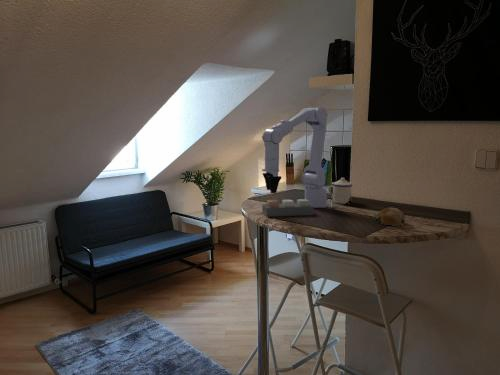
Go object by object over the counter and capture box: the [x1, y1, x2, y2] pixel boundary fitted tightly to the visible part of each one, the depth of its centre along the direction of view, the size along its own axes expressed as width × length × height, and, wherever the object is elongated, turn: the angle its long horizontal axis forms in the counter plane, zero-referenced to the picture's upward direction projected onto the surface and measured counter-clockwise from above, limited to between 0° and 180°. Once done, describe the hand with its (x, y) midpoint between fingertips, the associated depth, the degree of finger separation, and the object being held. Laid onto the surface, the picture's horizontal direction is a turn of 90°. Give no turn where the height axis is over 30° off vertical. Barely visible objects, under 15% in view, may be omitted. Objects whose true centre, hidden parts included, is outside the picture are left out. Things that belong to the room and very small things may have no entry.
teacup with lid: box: [327, 177, 353, 205], centre depth 197 cm, size 12×9×12 cm
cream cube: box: [281, 199, 295, 207], centre depth 172 cm, size 4×4×4 cm
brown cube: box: [266, 199, 279, 207], centre depth 171 cm, size 4×4×4 cm
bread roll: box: [375, 207, 406, 227], centre depth 158 cm, size 10×10×8 cm
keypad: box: [261, 202, 315, 217], centre depth 172 cm, size 20×8×4 cm, turn 100°
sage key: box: [296, 198, 309, 206], centre depth 173 cm, size 4×4×4 cm
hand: (271, 191), depth 171 cm, fingers open, 7 cm apart
